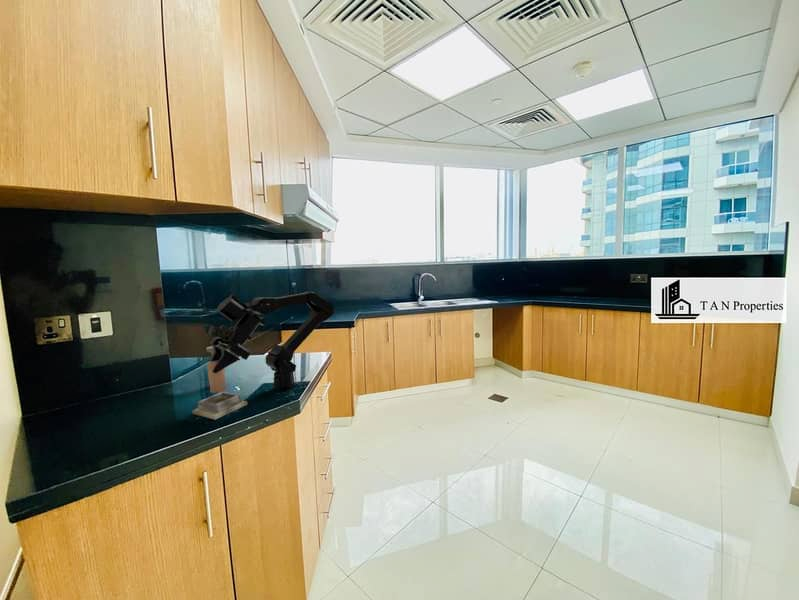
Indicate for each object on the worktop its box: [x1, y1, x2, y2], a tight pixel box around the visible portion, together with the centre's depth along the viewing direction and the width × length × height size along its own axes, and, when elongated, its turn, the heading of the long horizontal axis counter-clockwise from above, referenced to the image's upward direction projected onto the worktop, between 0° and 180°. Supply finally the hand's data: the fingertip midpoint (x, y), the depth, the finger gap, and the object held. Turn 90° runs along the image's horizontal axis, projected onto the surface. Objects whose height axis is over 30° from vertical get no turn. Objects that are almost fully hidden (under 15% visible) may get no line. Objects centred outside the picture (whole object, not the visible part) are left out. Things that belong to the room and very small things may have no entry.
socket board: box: [191, 391, 248, 420], centre depth 103 cm, size 11×11×4 cm
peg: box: [206, 360, 227, 394], centre depth 102 cm, size 4×4×9 cm
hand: (211, 371), depth 101 cm, fingers closed on peg, 4 cm apart
